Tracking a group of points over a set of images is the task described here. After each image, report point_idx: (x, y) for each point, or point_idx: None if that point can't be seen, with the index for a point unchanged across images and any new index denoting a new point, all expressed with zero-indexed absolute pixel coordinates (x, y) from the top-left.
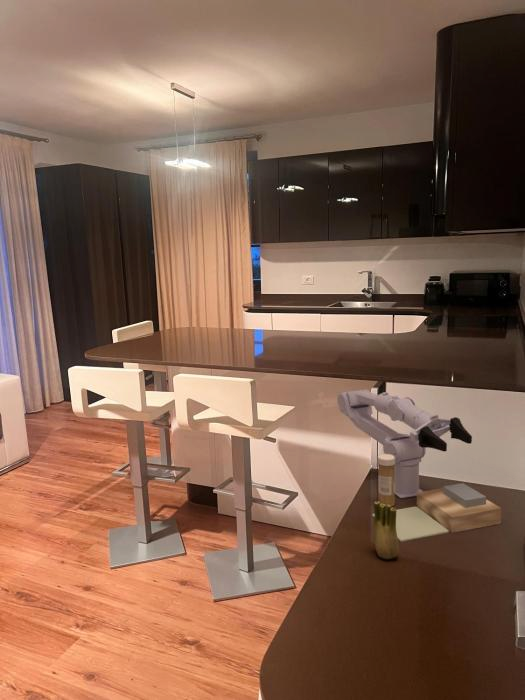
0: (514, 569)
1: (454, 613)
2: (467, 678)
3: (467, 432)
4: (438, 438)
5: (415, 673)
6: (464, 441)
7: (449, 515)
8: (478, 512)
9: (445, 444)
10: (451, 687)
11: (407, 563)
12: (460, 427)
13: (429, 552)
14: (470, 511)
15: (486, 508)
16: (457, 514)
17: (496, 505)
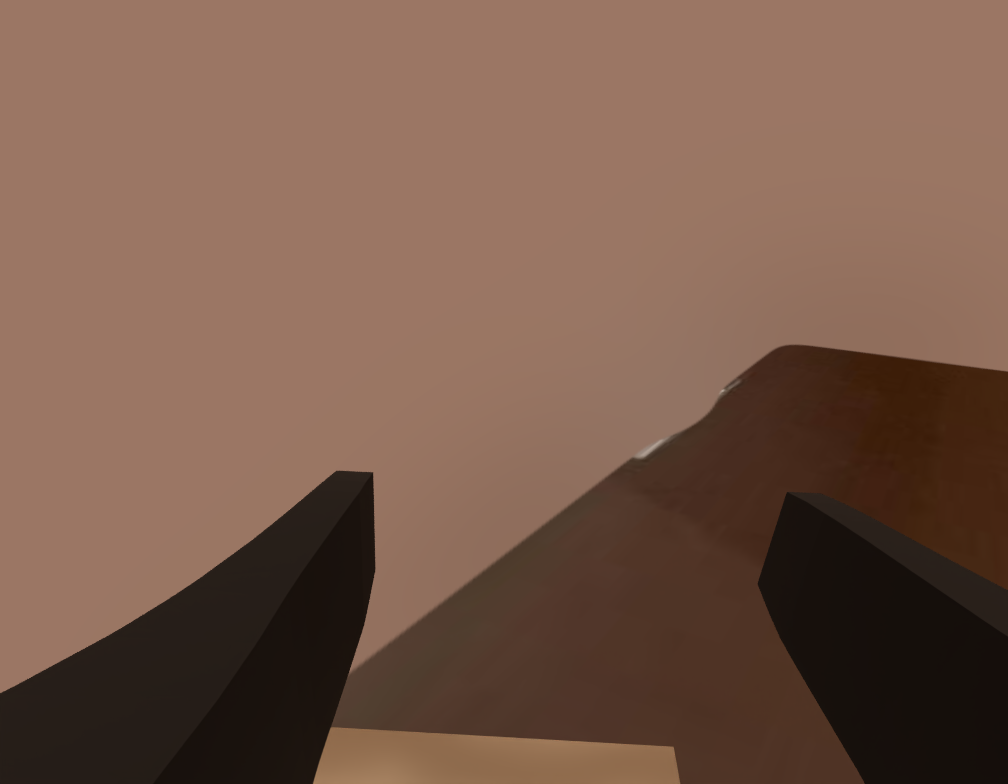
0: (580, 511)
1: (834, 446)
2: (855, 364)
3: (314, 500)
4: (931, 560)
5: (950, 382)
6: (347, 660)
7: (678, 778)
8: (487, 736)
9: (809, 497)
10: (887, 361)
11: None
12: (254, 605)
13: None
14: (522, 766)
15: (402, 761)
16: (622, 767)
17: None
